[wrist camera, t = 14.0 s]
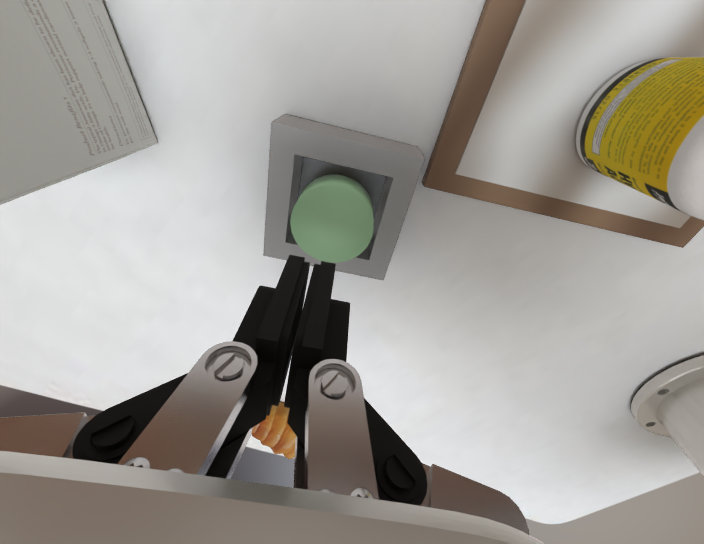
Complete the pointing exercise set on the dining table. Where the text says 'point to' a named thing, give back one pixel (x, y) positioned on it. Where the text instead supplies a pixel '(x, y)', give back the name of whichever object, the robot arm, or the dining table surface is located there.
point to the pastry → (277, 432)
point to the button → (333, 219)
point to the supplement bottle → (650, 131)
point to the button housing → (347, 150)
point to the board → (557, 108)
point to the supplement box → (63, 94)
